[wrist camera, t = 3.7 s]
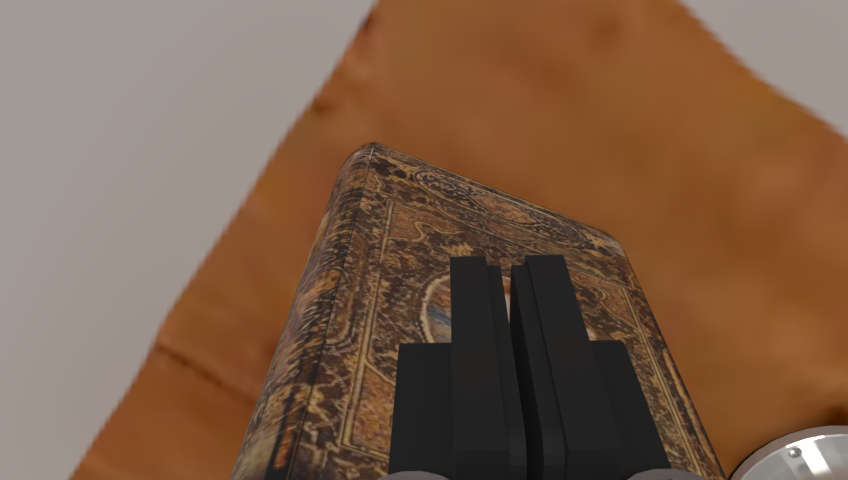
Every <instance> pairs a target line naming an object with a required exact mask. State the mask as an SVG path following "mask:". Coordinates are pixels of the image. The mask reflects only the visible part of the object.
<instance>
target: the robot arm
mask: <svg viewBox="0 0 848 480" xmlns="http://www.w3.org/2000/svg"><path fill="white" fill-rule="evenodd" d="M450 300H451V342H448V343H400V344H399V349H398V360H397V372H396V384H395V396H394V407H393V419H392V431H391V443H390V455H389V467H388V475H386V476H383V477H381V478H379V479H377V480H709V479H707V478H705V477H702V476H700V475H698V474H695V473H691V472H686V471H682V470H677V469H672V467H671V464H670V462H669V459H668V456H667V454H666V451H665V448H664V446H663V443H662V441H661V438H660V435H659V433H658V430H657V427H656V425H655V422H654V419H653V417H652V414H651V411H650V409H649V406H648V404H647V401H646V398H645V396H644V393H643V390H642V388H641V385H640V382H639V380H638V377H637V374H636V372H635V369H634V366H633V364H632V361H631V359H630V356H629V353H628V351H627V348H626V346H625V344H624V342H622V341H621V340H589V336H588V333H587V330H586V327H585V323H584V320H583V317H582V314H581V310H580V307H579V304H578V301H577V297H576V294H575V291H574V288H573V284H572V281H571V278H570V275H569V271H568V268H567V265H566V262H565V258H564V256H563V255H562V254H561V255H526V256H525V260H524V265H512V266H511V276H510V312H509V319H508V312H507V306H506V299H505V292H504V285H503V279H502V272H501V266H500V265H487V261H486V256H453V257H450ZM731 480H848V426H823V427H816V428H809V429H805V430H801V431H798V432H794V433H791V434H788V435H786V436H783V437H781V438H779V439H776V440H774V441H772V442H770V443H769V444H767V445H765V446H764V447H762V448H761V449H759V450H757V451H756V452H755V453H754V454H753V455H751V456H750V457H749V458H748V459H747V460H745V461H744V462H743V464H742V465H741V466H740V467H739V468H738V469H737V471H736V472H735V473H734V474H733V476H732V478H731Z"/></svg>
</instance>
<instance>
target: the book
mask: <svg viewBox="0 0 848 480" xmlns="http://www.w3.org/2000/svg"><path fill="white" fill-rule="evenodd" d="M561 254H562V255H563V256H564V258H565V262H566V265H567V268H568V271H569V275H570V278H571V281H572V284H573V288H574V291H575V294H576V297H577V301H578V304H579V307H580V310H581V314H582V317H583V320H584V323H585V327H586V330H587V333H588V336H589V340H621V341H622V342H624V344H625V346H626V348H627V351H628V353H629V356H630V359H631V361H632V364H633V366H634V369H635V372H636V374H637V377H638V380H639V382H640V385H641V388H642V390H643V393H644V396H645V398H646V401H647V404H648V406H649V409H650V411H651V414H652V417H653V419H654V422H655V425H656V427H657V430H658V433H659V435H660V438H661V441H662V443H663V446H664V448H665V451H666V454H667V456H668V459H669V462H670V464H671V467H672V469H677V470H682V471H686V472H691V473H695V474H698V475H700V476H702V477H705V478H707V479H709V480H727V478H726V476H725V474H724V471H723V469H722V467H721V465H720V462H719V460H718V458H717V456H716V454H715V451H714V449H713V447H712V445H711V442H710V440H709V438H708V436H707V433H706V431H705V429H704V427H703V425H702V422H701V420H700V418H699V416H698V413H697V411H696V409H695V407H694V405H693V402H692V400H691V398H690V396H689V393H688V391H687V389H686V387H685V384H684V382H683V380H682V378H681V376H680V373H679V371H678V369H677V367H676V364H675V362H674V360H673V358H672V356H671V353H670V351H669V349H668V347H667V344H666V342H665V340H664V338H663V335H662V333H661V331H660V329H659V327H658V324H657V322H656V320H655V318H654V315H653V313H652V311H651V309H650V306H649V304H648V302H647V300H646V298H645V295H644V293H643V291H642V289H641V286H640V284H639V282H638V280H637V278H636V275H635V273H634V271H633V269H632V266H631V264H630V262H629V260H628V258H627V256H626V254H625V251H624V250H623V249H622V247H621V245H620V244H619V243H618V241H617V240H616V239H615V238H613V237H612V236H611V235H609V234H608V233H606V232H603V231H601V230H599V229H596V228H594V227H591V226H589V225H586V224H584V223H581V222H579V221H576V220H574V219H571V218H569V217H567V216H564V215H562V214H559V213H557V212H554V211H551V210H549V209H546V208H544V207H541V206H538V205H536V204H533V203H531V202H528V201H526V200H523V199H520V198H518V197H515V196H513V195H510V194H507V193H505V192H502V191H500V190H497V189H494V188H492V187H489V186H487V185H484V184H482V183H479V182H476V181H474V180H471V179H469V178H466V177H463V176H461V175H458V174H456V173H453V172H450V171H448V170H445V169H443V168H440V167H438V166H435V165H432V164H430V163H427V162H425V161H422V160H419V159H417V158H414V157H412V156H409V155H406V154H404V153H401V152H399V151H396V150H394V149H391V148H388V147H386V146H383V145H381V144H378V143H376V142H373V143H368V144H366V145H363V146H361V147H360V148H358V149H356V150H355V151H354V152H353V153H352V154H351V155H350V156H349V157H348V158H347V160H346V161H345V162H344V164H343V166H342V168H341V169H340V172H339V174H338V176H337V179H336V182H335V184H334V187H333V190H332V193H331V196H330V198H329V201H328V204H327V207H326V210H325V213H324V215H323V218H322V221H321V224H320V227H319V229H318V232H317V235H316V238H315V241H314V243H313V246H312V249H311V252H310V255H309V258H308V260H307V263H306V266H305V269H304V272H303V274H302V277H301V280H300V283H299V286H298V288H297V291H296V294H295V297H294V300H293V303H292V305H291V308H290V311H289V314H288V317H287V319H286V322H285V325H284V328H283V331H282V333H281V336H280V339H279V342H278V345H277V348H276V350H275V353H274V356H273V359H272V362H271V364H270V367H269V370H268V373H267V376H266V378H265V381H264V384H263V387H262V390H261V392H260V395H259V398H258V401H257V404H256V407H255V409H254V412H253V415H252V418H251V421H250V423H249V426H248V429H247V432H246V435H245V437H244V440H243V443H242V446H241V449H240V452H239V454H238V457H237V460H236V463H235V466H234V468H233V471H232V474H231V477H230V480H377V479H379V478H381V477H383V476H386V475H388V467H389V455H390V443H391V431H392V419H393V407H394V396H395V384H396V372H397V360H398V349H399V344H400V343H448V342H451V300H450V257H453V256H486V261H487V265H500V266H501V272H502V279H503V285H504V292H505V299H506V306H507V312H508V319H509V312H510V276H511V266H512V265H524V260H525V256H526V255H561Z"/></svg>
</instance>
